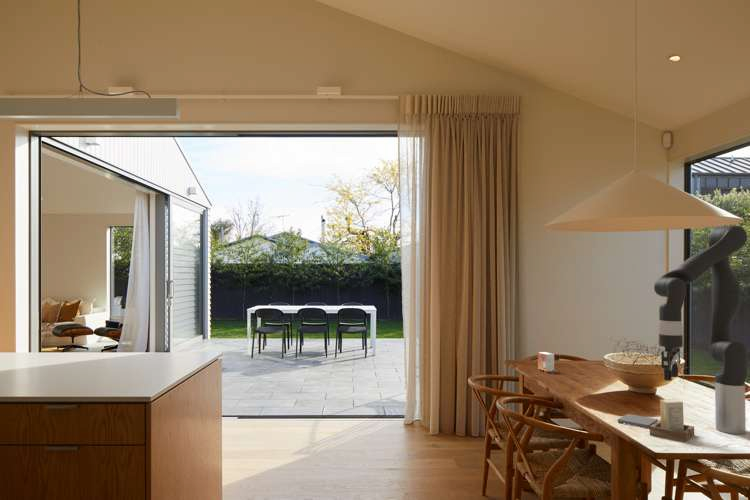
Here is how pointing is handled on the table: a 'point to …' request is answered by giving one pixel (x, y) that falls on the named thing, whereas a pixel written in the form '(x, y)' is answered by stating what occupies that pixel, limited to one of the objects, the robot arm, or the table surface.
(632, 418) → the rubber mat
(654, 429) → the pocket holder
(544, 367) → the small box
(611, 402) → the table surface
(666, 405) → the skincare box
